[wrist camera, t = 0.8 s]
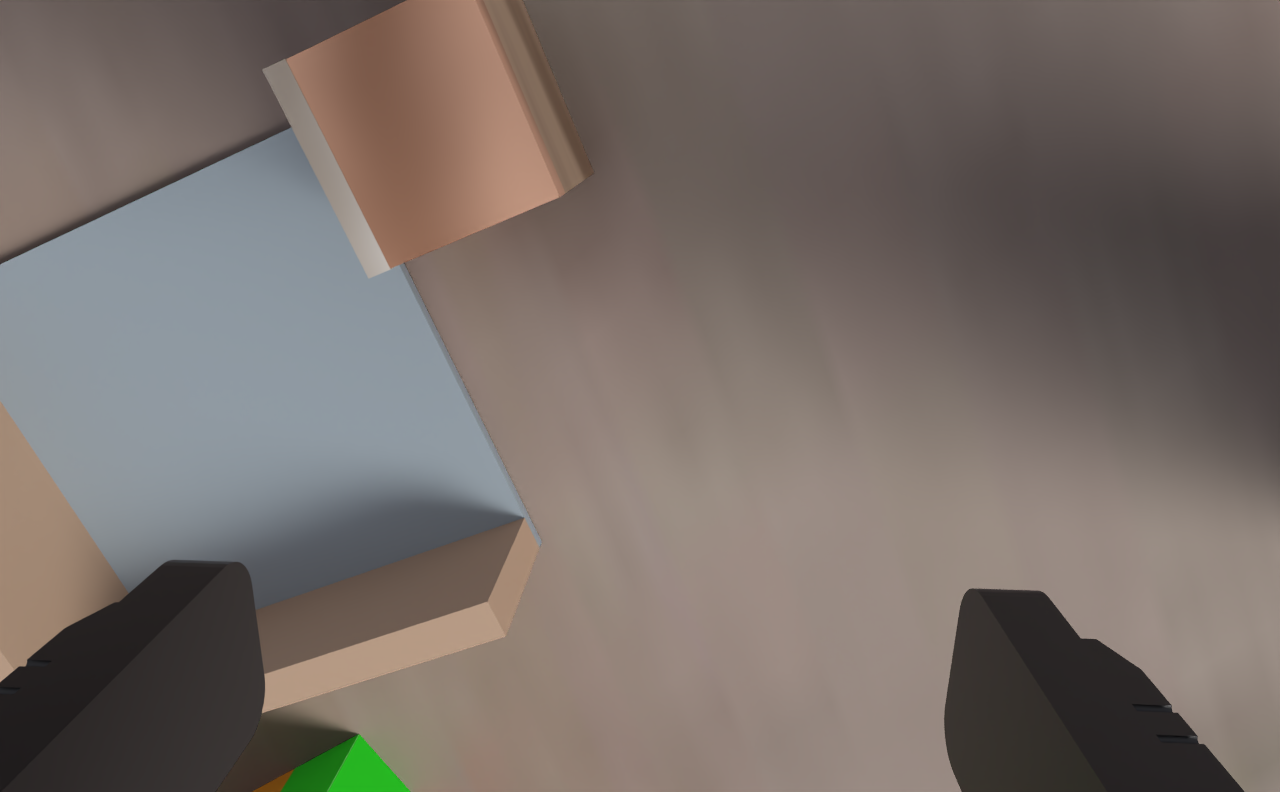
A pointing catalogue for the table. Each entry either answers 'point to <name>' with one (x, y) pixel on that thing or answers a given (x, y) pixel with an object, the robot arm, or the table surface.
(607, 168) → the table surface
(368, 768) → the puzzle toy
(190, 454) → the arena
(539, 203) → the block
